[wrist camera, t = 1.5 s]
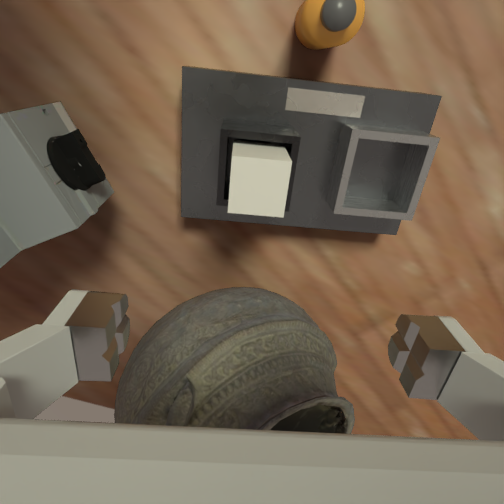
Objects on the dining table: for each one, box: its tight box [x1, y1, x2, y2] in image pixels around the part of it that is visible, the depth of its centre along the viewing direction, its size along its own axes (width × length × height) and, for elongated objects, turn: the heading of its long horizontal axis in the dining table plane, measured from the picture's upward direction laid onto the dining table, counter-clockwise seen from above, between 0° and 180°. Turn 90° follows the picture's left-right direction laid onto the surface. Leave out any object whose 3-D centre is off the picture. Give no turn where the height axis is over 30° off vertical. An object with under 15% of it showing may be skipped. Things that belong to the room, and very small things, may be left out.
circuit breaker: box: [0, 101, 114, 268], centre depth 25 cm, size 8×14×15 cm, turn 111°
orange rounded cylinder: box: [295, 0, 365, 50], centre depth 24 cm, size 4×4×7 cm
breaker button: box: [228, 140, 292, 218], centre depth 24 cm, size 4×4×5 cm
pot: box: [114, 287, 355, 434], centre depth 30 cm, size 21×21×25 cm
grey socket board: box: [181, 66, 442, 235], centre depth 28 cm, size 12×20×8 cm, turn 84°
